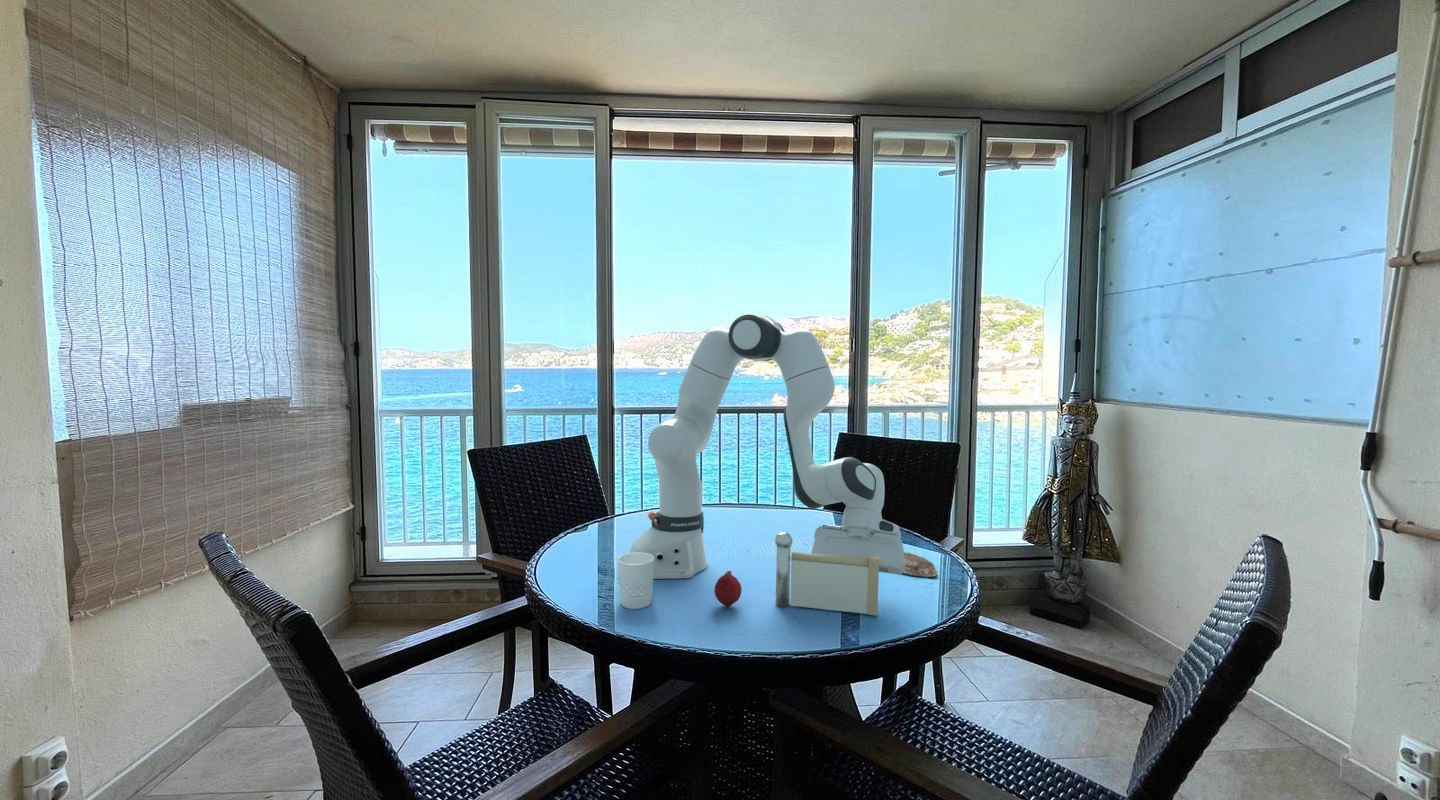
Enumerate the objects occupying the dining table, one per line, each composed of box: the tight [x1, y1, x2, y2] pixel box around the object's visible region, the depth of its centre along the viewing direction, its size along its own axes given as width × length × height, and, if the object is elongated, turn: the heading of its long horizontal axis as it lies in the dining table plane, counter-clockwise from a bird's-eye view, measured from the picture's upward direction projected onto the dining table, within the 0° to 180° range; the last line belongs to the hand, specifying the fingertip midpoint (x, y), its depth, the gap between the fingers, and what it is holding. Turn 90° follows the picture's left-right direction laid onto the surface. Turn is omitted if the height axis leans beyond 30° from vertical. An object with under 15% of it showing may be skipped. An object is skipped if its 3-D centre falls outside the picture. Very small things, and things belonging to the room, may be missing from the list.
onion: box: [713, 570, 742, 608], centre depth 118 cm, size 6×6×8 cm
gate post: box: [774, 531, 793, 609], centre depth 119 cm, size 4×4×16 cm
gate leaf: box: [789, 551, 880, 616], centre depth 117 cm, size 18×2×12 cm, turn 77°
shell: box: [901, 551, 938, 579], centre depth 143 cm, size 12×13×4 cm
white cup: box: [617, 552, 654, 610], centre depth 120 cm, size 8×8×10 cm
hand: (853, 586), depth 118 cm, fingers closed
